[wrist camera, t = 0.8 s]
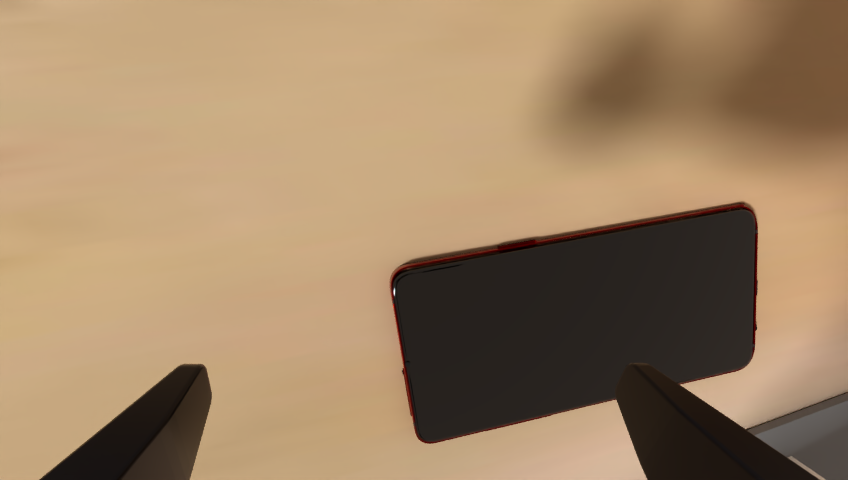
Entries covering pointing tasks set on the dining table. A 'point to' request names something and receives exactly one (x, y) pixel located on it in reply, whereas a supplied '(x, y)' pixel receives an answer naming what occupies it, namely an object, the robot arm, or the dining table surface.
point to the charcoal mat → (813, 437)
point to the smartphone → (573, 318)
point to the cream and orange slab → (806, 468)
